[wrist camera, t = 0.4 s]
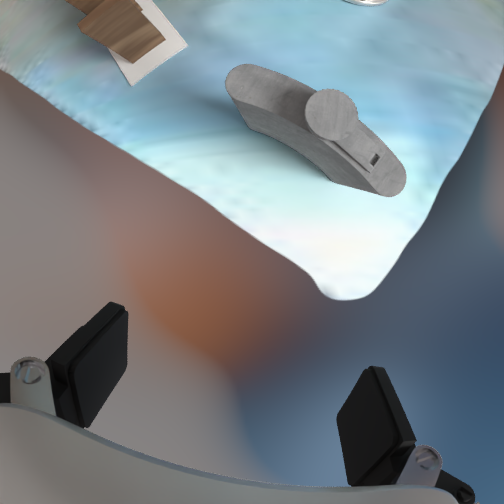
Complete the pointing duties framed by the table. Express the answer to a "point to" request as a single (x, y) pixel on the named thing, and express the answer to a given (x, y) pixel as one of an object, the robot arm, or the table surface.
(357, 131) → the hip flask
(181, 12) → the table surface
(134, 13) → the domino
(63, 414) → the robot arm
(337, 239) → the table surface
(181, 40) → the domino mat
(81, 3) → the domino
